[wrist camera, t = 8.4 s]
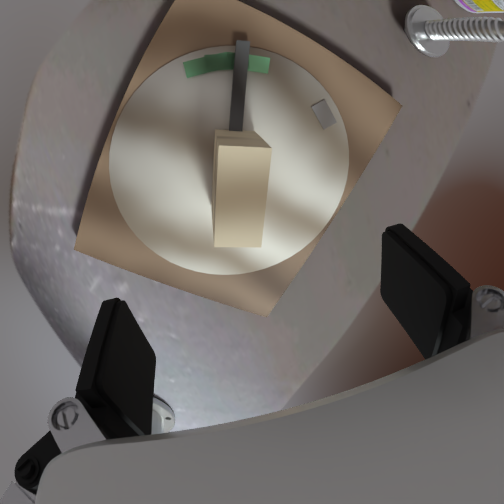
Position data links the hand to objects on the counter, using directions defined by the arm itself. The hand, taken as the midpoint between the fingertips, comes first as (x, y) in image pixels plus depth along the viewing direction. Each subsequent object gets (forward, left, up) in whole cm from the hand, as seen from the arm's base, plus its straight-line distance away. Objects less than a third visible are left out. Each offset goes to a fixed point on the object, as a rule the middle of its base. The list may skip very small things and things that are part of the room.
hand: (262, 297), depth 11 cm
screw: (+19, -8, -16) cm, 26 cm away
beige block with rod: (+3, +1, -14) cm, 14 cm away
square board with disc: (0, 0, -16) cm, 16 cm away
